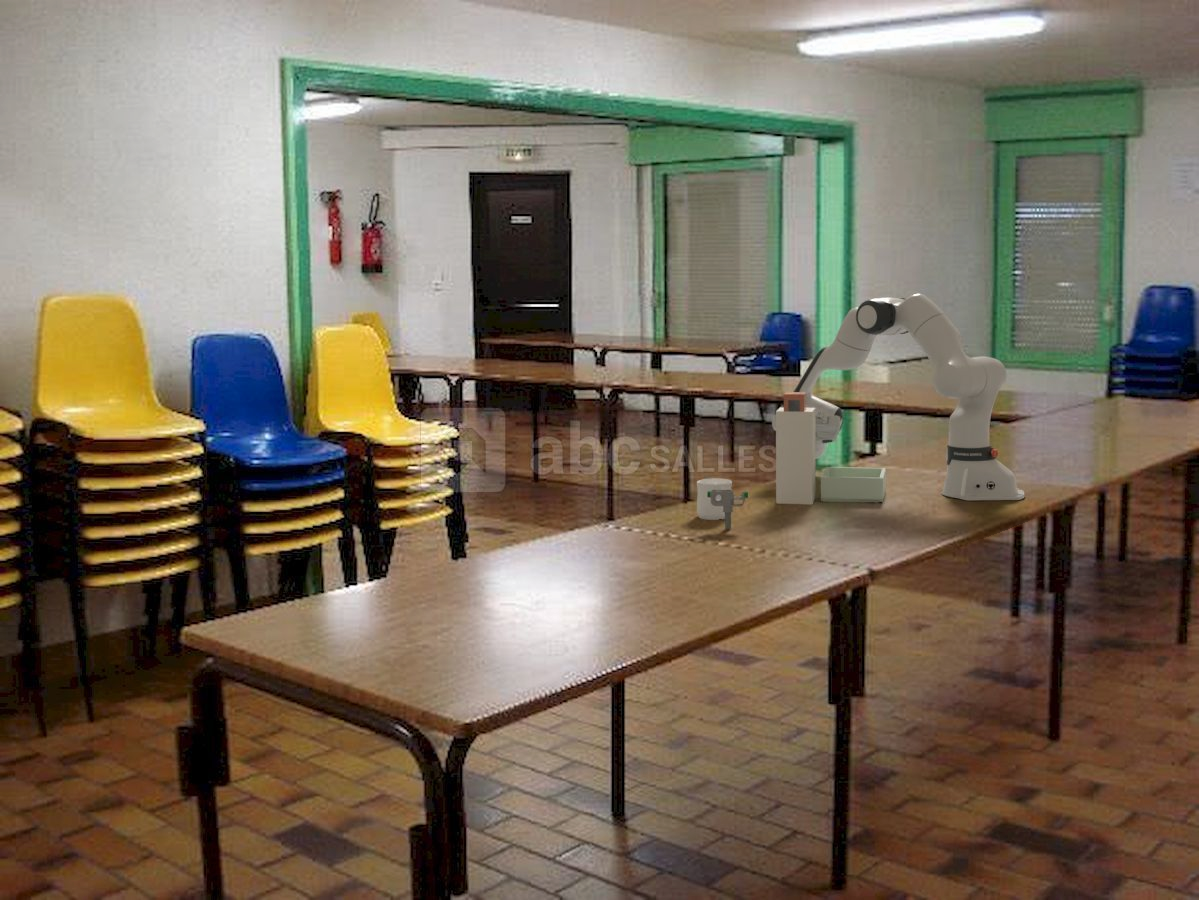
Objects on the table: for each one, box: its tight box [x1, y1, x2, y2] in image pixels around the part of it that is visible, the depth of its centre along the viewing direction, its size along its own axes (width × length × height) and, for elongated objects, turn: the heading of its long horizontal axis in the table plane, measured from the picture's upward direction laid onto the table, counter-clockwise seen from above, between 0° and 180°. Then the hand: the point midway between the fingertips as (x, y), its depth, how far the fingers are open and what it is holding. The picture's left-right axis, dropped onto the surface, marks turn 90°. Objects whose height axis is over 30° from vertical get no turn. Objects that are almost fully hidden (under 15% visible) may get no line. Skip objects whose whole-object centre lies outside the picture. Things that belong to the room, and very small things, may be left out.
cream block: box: [775, 406, 816, 505], centre depth 371 cm, size 10×9×26 cm
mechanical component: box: [707, 489, 749, 530], centre depth 338 cm, size 3×10×10 cm, turn 79°
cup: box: [696, 477, 733, 521], centre depth 354 cm, size 10×10×10 cm
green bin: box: [820, 466, 887, 503], centre depth 377 cm, size 17×17×7 cm
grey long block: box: [783, 391, 806, 412], centre depth 373 cm, size 6×18×5 cm, turn 165°
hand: (804, 414), depth 389 cm, fingers open, 8 cm apart
